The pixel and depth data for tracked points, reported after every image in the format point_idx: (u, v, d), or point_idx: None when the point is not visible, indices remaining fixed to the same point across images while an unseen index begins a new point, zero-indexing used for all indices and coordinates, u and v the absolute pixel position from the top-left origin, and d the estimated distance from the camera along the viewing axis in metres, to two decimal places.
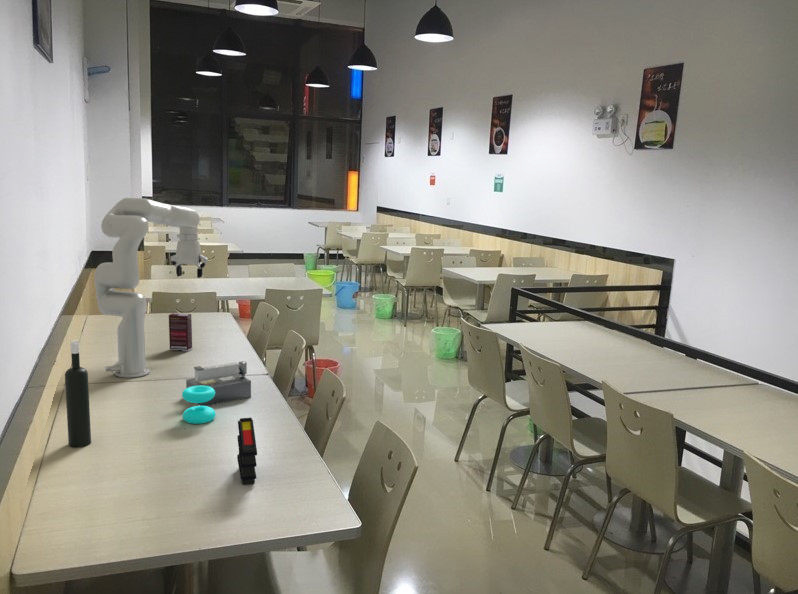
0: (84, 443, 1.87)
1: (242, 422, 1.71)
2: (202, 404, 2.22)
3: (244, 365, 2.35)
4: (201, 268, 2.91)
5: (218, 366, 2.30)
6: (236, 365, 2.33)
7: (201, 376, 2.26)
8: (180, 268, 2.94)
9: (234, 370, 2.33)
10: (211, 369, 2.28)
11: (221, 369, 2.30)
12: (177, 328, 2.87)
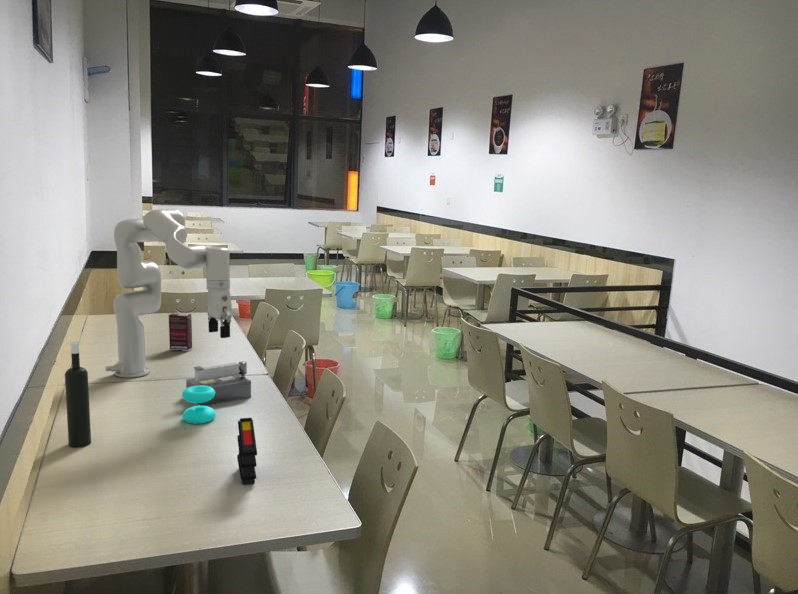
0: (84, 443, 1.87)
1: (242, 422, 1.71)
2: (202, 404, 2.22)
3: (244, 365, 2.35)
4: None
5: (218, 366, 2.30)
6: (236, 365, 2.33)
7: (201, 376, 2.26)
8: None
9: (234, 370, 2.33)
10: (211, 369, 2.28)
11: (221, 369, 2.30)
12: (177, 328, 2.87)
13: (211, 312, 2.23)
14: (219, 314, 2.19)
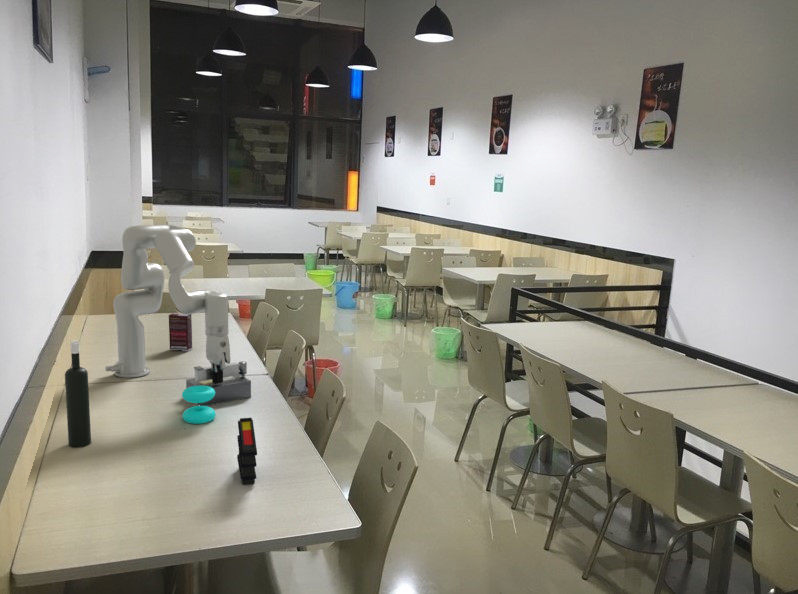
0: (84, 443, 1.87)
1: (242, 422, 1.71)
2: (202, 404, 2.22)
3: (244, 365, 2.35)
4: None
5: None
6: (236, 365, 2.33)
7: (201, 376, 2.26)
8: None
9: (234, 370, 2.33)
10: (211, 369, 2.28)
11: None
12: (177, 328, 2.87)
13: (210, 357, 2.25)
14: (218, 360, 2.21)
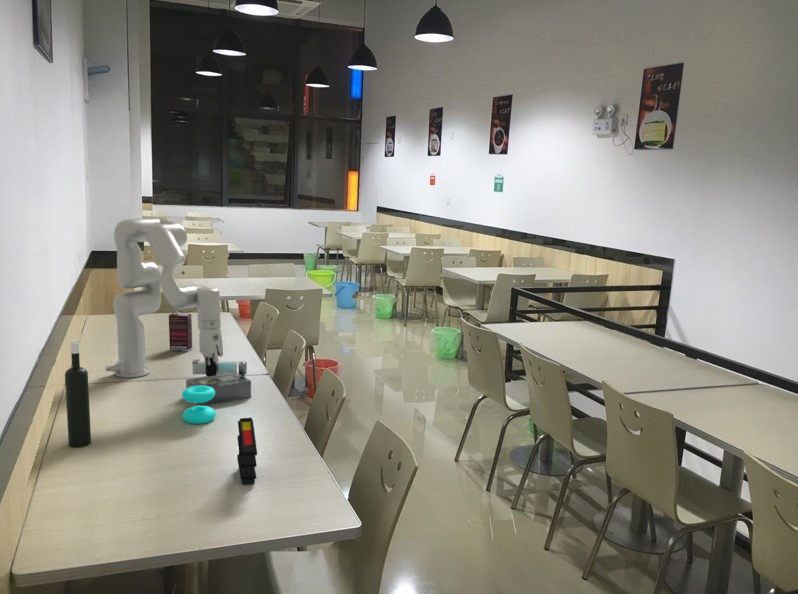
0: (84, 443, 1.87)
1: (242, 422, 1.71)
2: (202, 404, 2.22)
3: (242, 365, 2.35)
4: None
5: None
6: (233, 364, 2.35)
7: (196, 369, 2.33)
8: None
9: (231, 369, 2.35)
10: None
11: (217, 365, 2.34)
12: (177, 328, 2.87)
13: (203, 350, 2.30)
14: (210, 353, 2.26)
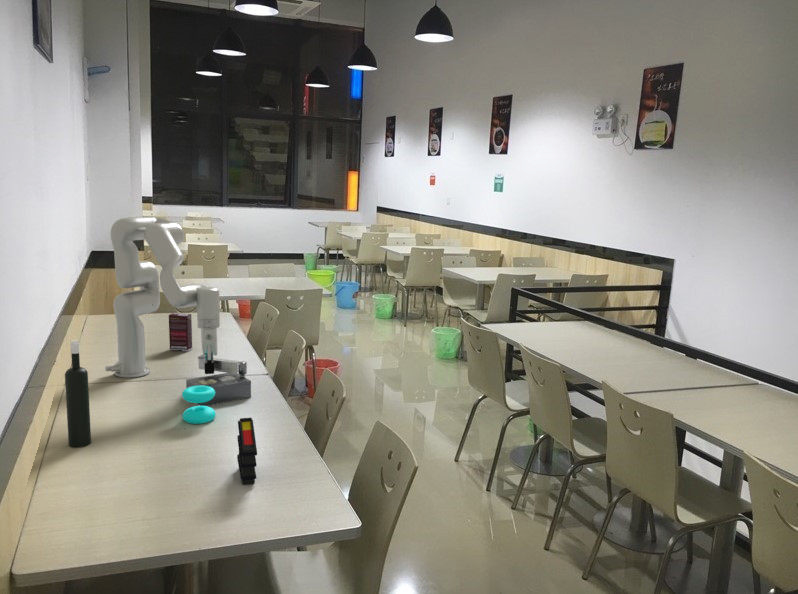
0: (84, 443, 1.87)
1: (242, 422, 1.71)
2: (202, 404, 2.22)
3: (240, 365, 2.35)
4: None
5: (219, 359, 2.38)
6: (233, 363, 2.36)
7: (201, 364, 2.39)
8: None
9: (231, 367, 2.36)
10: None
11: (219, 363, 2.37)
12: (177, 328, 2.87)
13: None
14: (203, 351, 2.29)
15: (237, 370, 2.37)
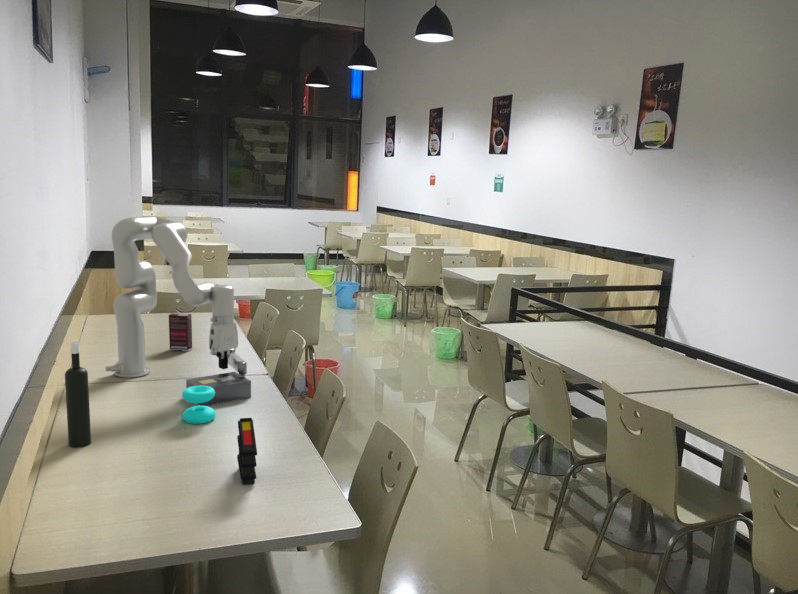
0: (84, 443, 1.87)
1: (242, 422, 1.71)
2: (202, 404, 2.22)
3: (238, 365, 2.35)
4: None
5: (234, 356, 2.44)
6: (237, 361, 2.38)
7: None
8: None
9: (236, 365, 2.39)
10: (230, 355, 2.46)
11: (232, 359, 2.43)
12: (177, 328, 2.87)
13: None
14: (209, 345, 2.40)
15: None
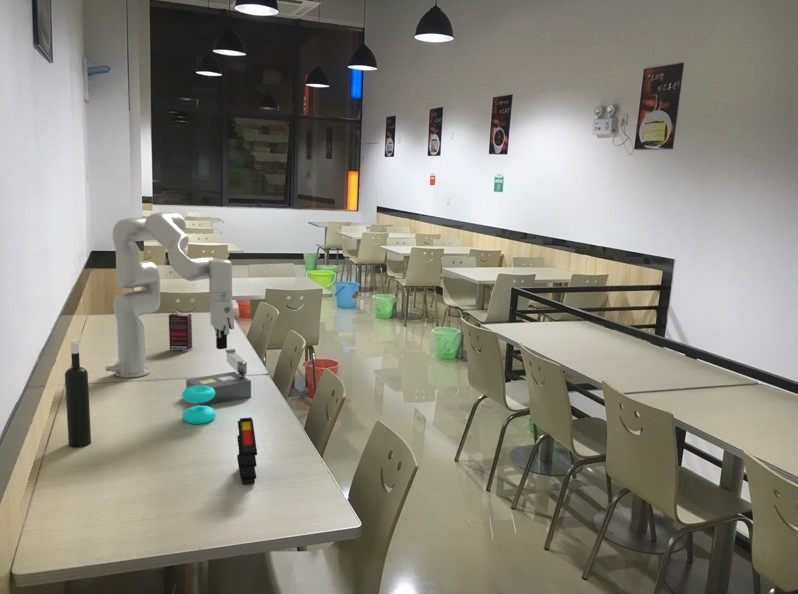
0: (84, 443, 1.87)
1: (242, 422, 1.71)
2: (202, 404, 2.22)
3: (238, 365, 2.35)
4: None
5: (235, 356, 2.44)
6: (237, 361, 2.38)
7: (227, 358, 2.49)
8: None
9: (236, 365, 2.39)
10: (230, 355, 2.46)
11: (232, 359, 2.43)
12: (177, 328, 2.87)
13: (214, 323, 2.28)
14: (221, 325, 2.24)
15: None
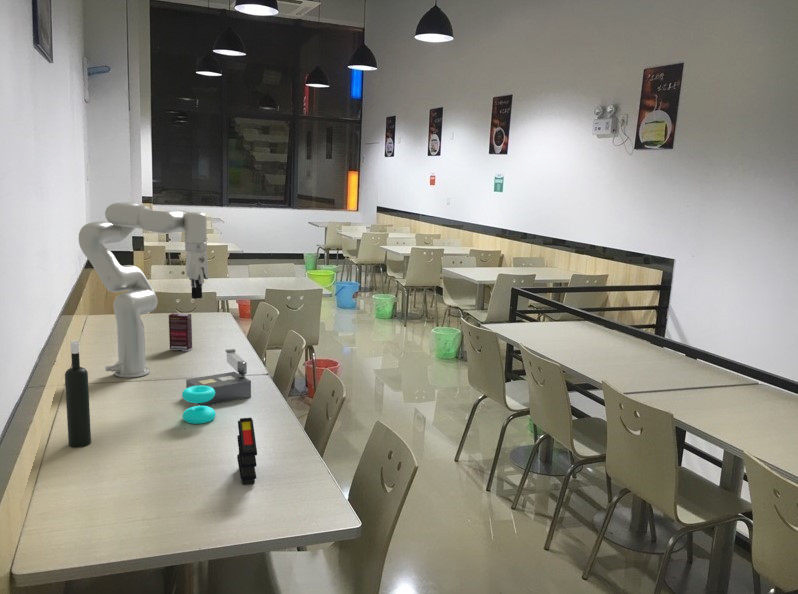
0: (84, 443, 1.87)
1: (242, 422, 1.71)
2: (202, 404, 2.22)
3: (238, 365, 2.35)
4: None
5: (235, 356, 2.44)
6: (237, 361, 2.38)
7: (227, 358, 2.49)
8: None
9: (236, 365, 2.39)
10: (230, 355, 2.46)
11: (232, 359, 2.43)
12: (177, 328, 2.87)
13: (189, 273, 2.38)
14: (196, 274, 2.34)
15: None
